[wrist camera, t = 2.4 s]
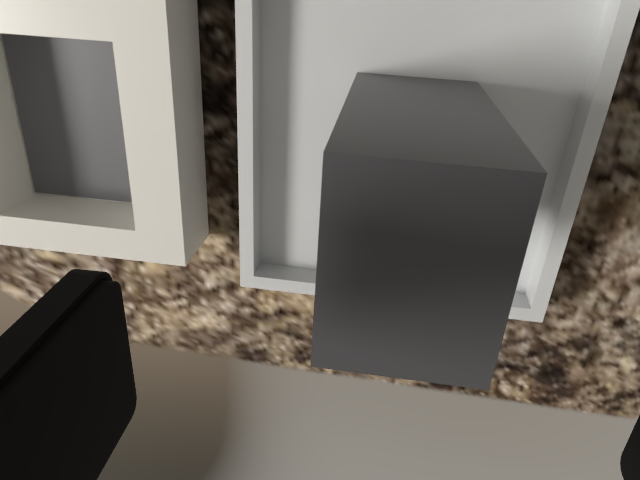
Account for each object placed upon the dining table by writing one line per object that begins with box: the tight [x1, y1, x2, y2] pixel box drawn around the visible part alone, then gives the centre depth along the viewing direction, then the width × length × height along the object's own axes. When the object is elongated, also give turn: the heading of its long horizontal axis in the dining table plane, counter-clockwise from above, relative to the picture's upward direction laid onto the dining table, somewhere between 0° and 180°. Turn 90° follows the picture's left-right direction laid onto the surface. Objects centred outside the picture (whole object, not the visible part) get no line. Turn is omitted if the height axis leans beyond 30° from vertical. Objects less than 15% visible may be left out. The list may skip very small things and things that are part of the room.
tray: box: [235, 0, 640, 322], centre depth 20 cm, size 13×13×2 cm
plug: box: [311, 72, 547, 390], centre depth 16 cm, size 4×6×10 cm
